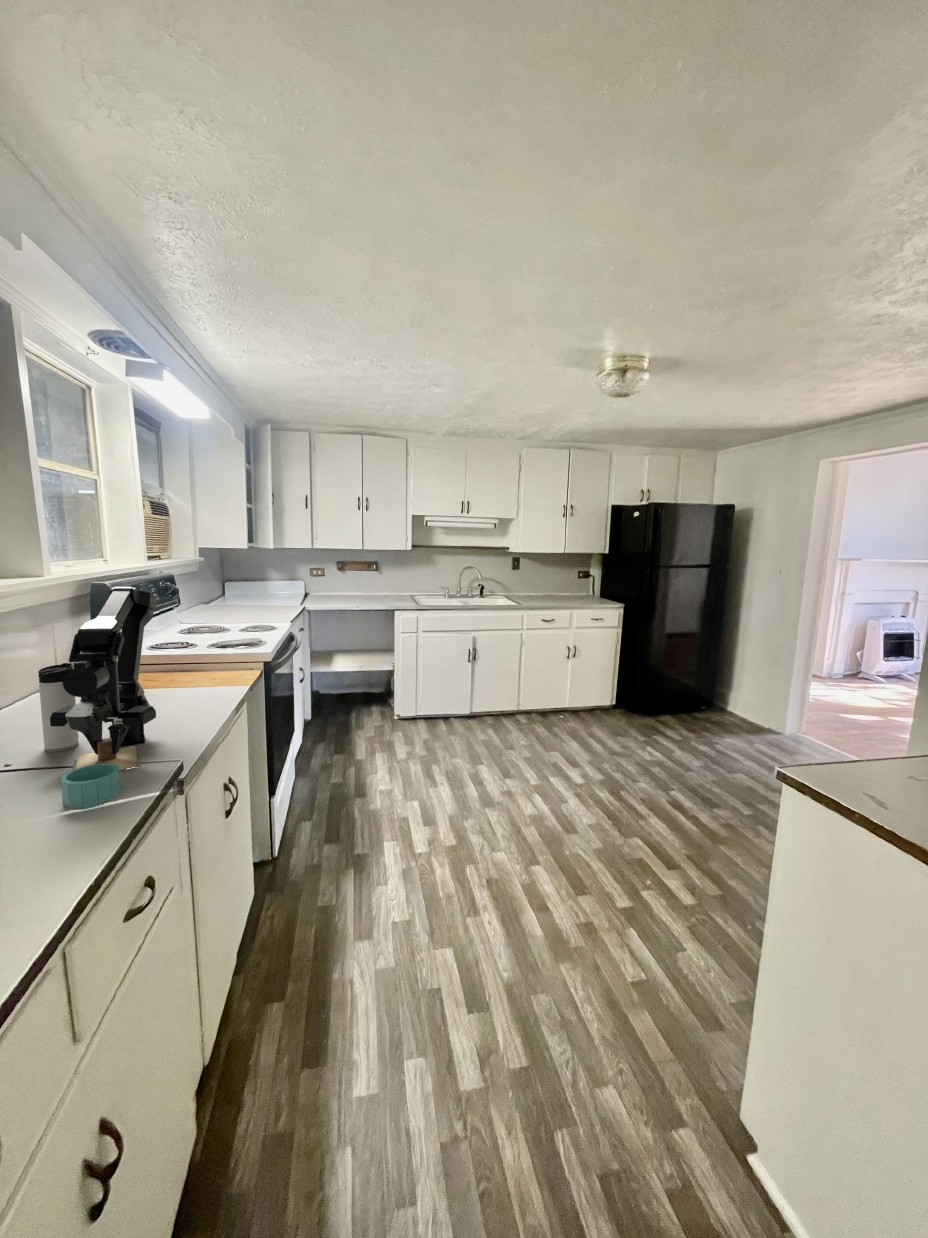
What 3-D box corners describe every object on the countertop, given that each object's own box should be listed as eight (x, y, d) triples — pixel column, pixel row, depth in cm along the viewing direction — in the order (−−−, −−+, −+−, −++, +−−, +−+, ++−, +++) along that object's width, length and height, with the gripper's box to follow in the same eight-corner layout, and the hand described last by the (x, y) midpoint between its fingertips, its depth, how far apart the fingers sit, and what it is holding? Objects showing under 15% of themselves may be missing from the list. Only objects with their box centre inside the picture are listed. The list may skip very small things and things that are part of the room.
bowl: (119, 784, 99) (118, 760, 98) (119, 801, 92) (117, 776, 91) (65, 794, 94) (63, 770, 93) (61, 814, 87) (59, 787, 86)
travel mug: (86, 744, 119) (81, 663, 116) (62, 754, 112) (55, 669, 110) (63, 742, 119) (57, 662, 117) (37, 753, 113) (30, 668, 110)
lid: (135, 750, 114) (134, 729, 113) (136, 766, 105) (135, 743, 105) (79, 760, 108) (77, 737, 107) (75, 778, 100) (73, 753, 99)
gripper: (25, 694, 96) (31, 770, 98) (125, 694, 97) (130, 769, 99) (66, 680, 107) (71, 748, 109) (155, 680, 108) (159, 748, 110)
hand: (106, 753), depth 107 cm, fingers closed on lid, 3 cm apart
